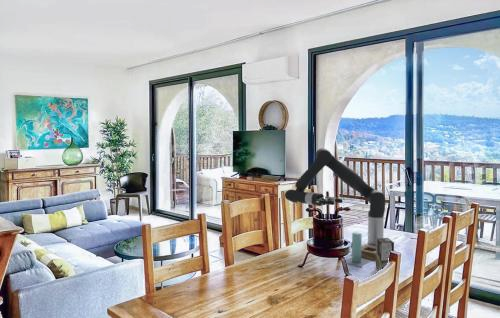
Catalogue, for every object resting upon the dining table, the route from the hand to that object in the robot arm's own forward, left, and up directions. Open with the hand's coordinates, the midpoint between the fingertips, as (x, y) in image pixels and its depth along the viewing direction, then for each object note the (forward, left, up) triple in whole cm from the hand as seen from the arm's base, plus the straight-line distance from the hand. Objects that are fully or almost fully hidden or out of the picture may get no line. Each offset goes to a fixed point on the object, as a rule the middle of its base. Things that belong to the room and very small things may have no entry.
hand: (338, 202), depth 227 cm
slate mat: (+7, +16, -30) cm, 35 cm away
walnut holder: (-8, +16, -30) cm, 35 cm away
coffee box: (+10, +33, -30) cm, 46 cm away
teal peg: (+7, +16, -29) cm, 34 cm away
